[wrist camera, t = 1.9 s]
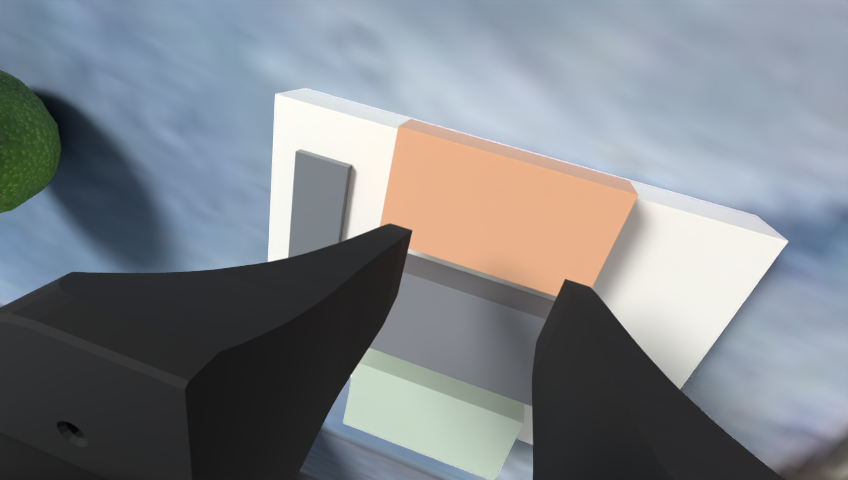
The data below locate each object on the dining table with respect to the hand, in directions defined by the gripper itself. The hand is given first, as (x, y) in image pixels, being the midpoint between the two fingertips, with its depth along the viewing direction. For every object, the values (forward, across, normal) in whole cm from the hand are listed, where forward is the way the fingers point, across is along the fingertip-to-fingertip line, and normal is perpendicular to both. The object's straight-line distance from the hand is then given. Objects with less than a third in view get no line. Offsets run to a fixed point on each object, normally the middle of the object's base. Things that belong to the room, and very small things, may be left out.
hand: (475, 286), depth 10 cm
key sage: (+6, 0, +11) cm, 13 cm away
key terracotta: (+6, 0, 0) cm, 6 cm away
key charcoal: (+6, 0, +5) cm, 8 cm away
